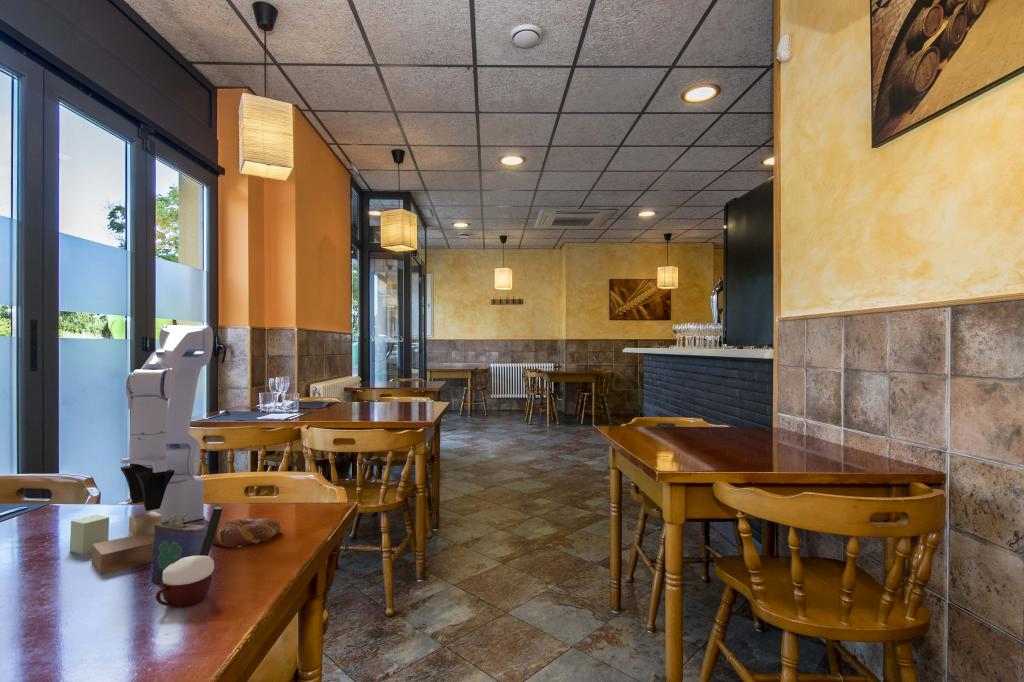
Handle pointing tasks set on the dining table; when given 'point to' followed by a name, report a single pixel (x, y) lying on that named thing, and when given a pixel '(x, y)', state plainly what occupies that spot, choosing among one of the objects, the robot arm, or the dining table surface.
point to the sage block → (88, 533)
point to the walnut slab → (122, 553)
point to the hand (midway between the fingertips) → (145, 505)
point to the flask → (174, 543)
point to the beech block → (144, 524)
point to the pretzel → (245, 531)
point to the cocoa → (190, 573)
